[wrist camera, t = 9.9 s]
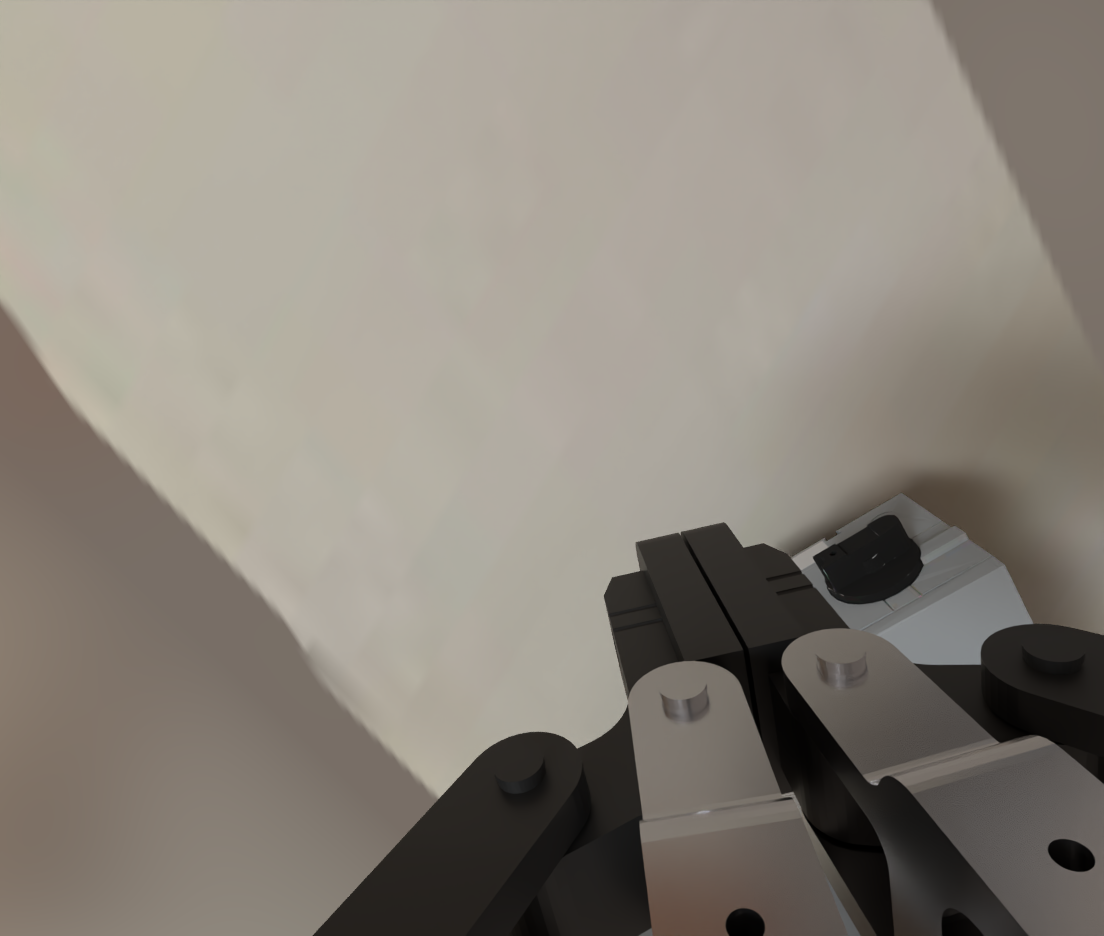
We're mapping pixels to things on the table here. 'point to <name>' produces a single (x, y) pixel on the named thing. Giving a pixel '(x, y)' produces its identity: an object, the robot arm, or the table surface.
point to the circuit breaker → (914, 583)
